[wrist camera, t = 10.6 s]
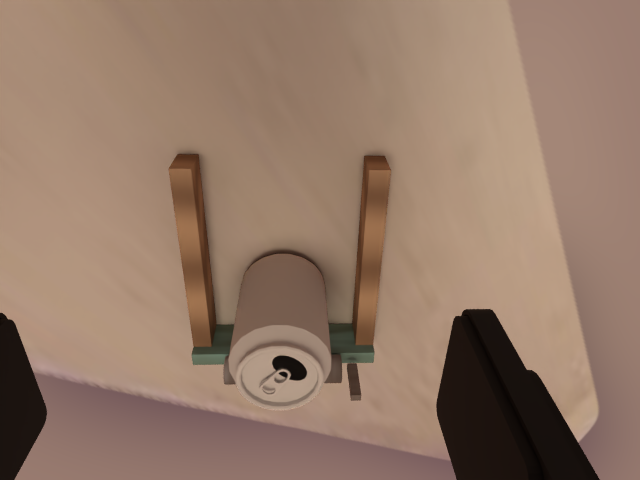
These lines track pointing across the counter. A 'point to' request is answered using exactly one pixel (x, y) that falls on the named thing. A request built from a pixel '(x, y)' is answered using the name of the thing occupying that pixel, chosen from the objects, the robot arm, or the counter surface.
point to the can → (281, 333)
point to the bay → (208, 337)
